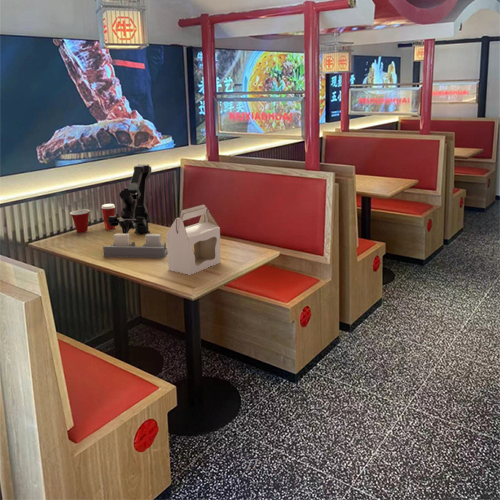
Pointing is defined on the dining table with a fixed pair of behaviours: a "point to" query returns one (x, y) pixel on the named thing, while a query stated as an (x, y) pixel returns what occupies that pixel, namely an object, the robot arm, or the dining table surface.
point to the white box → (153, 240)
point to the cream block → (121, 239)
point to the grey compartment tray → (135, 251)
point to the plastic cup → (80, 220)
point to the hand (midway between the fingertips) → (124, 235)
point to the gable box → (193, 242)
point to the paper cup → (108, 211)
